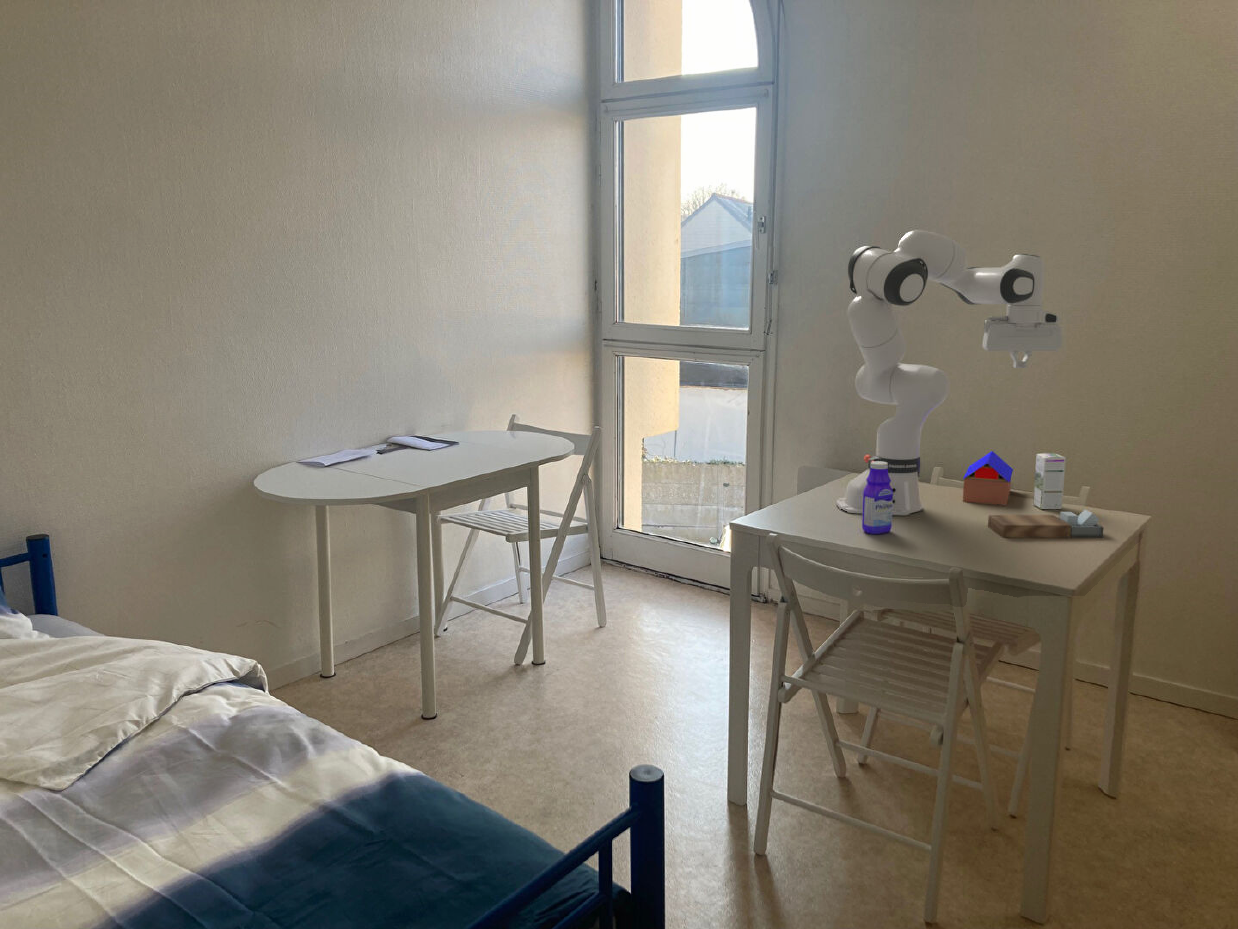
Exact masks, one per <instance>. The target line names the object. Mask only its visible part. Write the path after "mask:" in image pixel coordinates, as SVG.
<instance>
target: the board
mask: <svg viewBox="0 0 1238 929" xmlns="http://www.w3.org/2000/svg"><path fill="white" fill-rule="evenodd" d="M1058 517H1059V516H1055V515H1054V514H988V520H987V522H988V523H987V527H988V528H989V529H990V530H992V531H993V532H995V533H996V534H997V535H999V536H1000V537H1002V538H1071V537H1070V533H1071V525H1070V524H1068V523H1066V522H1065V521H1063V520H1061V519H1059V518H1058Z"/></svg>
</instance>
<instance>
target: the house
mask: <svg viewBox="0 0 1238 929" xmlns="http://www.w3.org/2000/svg"><path fill="white" fill-rule="evenodd" d="M1013 471H1014V469H1013V468H1012V467H1011V466H1010V465H1009V464H1008V463H1007V462H1006V461H1005V460H1004V459H1002V458H1001V457H1000V456H999V455H997V453H996V452H994V450H991V451H990V452H988V453H987V454H985V455H984V456H982V457H981V458H979V459H978V460H977V461H975V462H973V463H972V464H970V465H969V466H968V468H967V470H966V472H965V474H964V476H963V478H962V480H963V490H962V492H963V493H962V494H963V495H962V502H965V503H977V504H986V503H990V504H989V505H997V504H1002V505H1001V506H1007V504H1008V501H1009V498H1008V497H1010V493H1011V484H1012V475H1013ZM1004 504H1005V505H1004Z"/></svg>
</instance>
